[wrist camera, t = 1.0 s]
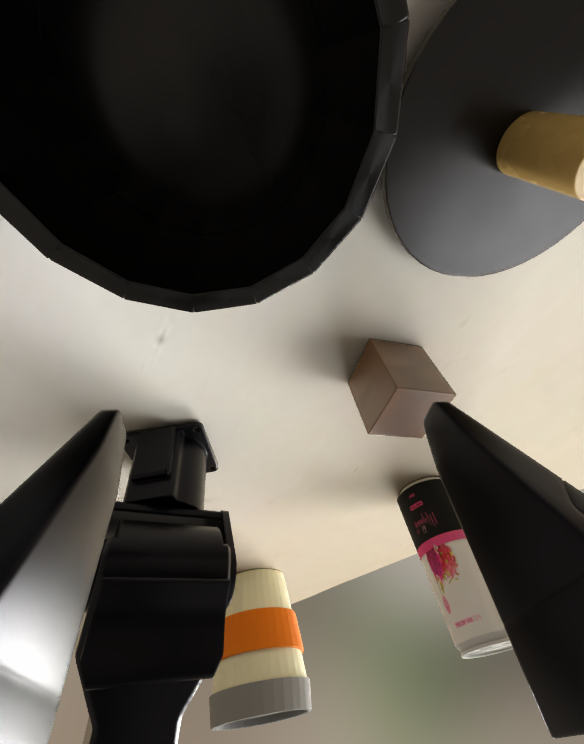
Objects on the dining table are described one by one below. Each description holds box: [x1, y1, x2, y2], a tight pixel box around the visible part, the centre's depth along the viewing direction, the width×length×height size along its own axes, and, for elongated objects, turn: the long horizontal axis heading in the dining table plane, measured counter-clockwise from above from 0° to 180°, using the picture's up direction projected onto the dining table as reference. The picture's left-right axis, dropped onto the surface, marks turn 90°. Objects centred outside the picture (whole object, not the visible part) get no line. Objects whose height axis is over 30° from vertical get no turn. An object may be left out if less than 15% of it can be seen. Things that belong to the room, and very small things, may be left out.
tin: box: [0, 0, 409, 312], centre depth 12 cm, size 13×13×7 cm
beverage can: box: [397, 477, 513, 659], centre depth 35 cm, size 7×6×15 cm
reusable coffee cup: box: [209, 569, 312, 731], centre depth 46 cm, size 13×13×15 cm
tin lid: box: [381, 0, 584, 277], centre depth 15 cm, size 14×14×6 cm
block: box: [348, 339, 456, 438], centre depth 24 cm, size 4×4×5 cm
